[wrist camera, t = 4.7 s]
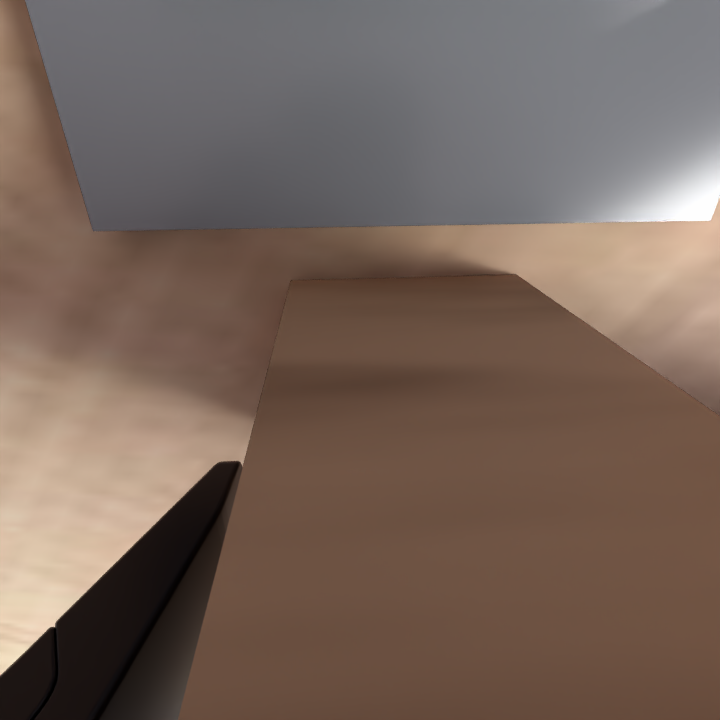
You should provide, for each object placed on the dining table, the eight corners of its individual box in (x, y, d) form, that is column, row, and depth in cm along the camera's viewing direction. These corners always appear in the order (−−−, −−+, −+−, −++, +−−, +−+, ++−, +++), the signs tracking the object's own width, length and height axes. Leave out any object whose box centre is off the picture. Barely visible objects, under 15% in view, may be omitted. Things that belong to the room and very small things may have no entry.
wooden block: (490, 425, 13) (803, 966, 5) (303, 434, 13) (257, 1043, 4) (516, 274, 11) (1249, 783, 2) (290, 280, 11) (126, 915, 2)
